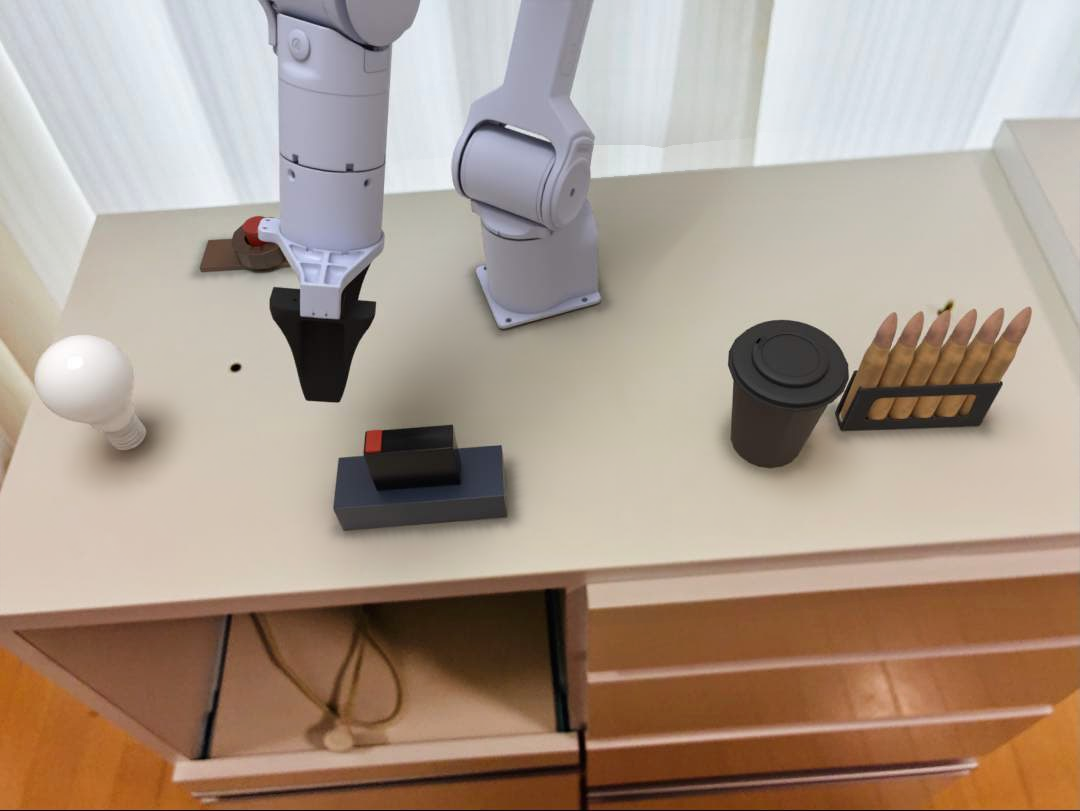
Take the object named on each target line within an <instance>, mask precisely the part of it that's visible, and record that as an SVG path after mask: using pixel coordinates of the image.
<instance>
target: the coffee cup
mask: <svg viewBox="0 0 1080 811" xmlns="http://www.w3.org/2000/svg"><path fill="white" fill-rule="evenodd" d="M845 356H846V355H845V354H844V352H843V350H842V348H841V347H840V345H839V344H838V343H837V342H836V341H835V339H834V338H832V337H831V336H830V335H829V334H827V333H826V332H825V331H823V330H822V329H819V328H818V327H816V326H813V325H811V324H808V323H806V322H803V321H802V322H801V321H797V320H791V319H772V320H771V319H770V320H766V321H762V322H760V323H756V324H755V325H752V326H751V327H749V328H747V329H746V330H744V331H743V332H742V333H740V334H739V335H738V336H737V337H736V338H735V339H734V341H733V342H732V345H731V346H730V348H729V349H728V358H727V366H728V369H729V370H728V371H729V373H730V376H731V378H732V380H733V381H732V401H731V403H732V404H731V419H730V420H731V422H730V441H731V445H732V448H733V449H734V451H735V453H737V456H739V457H740V458H741V459H743V460H744V461H745V462H747V463H749V464H751V465H754V466H756V467H758V468H765V469H777V468H782V467H784V466H787V465H788V464H791V463H792V462H793V461H794V460H795V459H796V458H798V456H799V455H800V453H801V452H802V450H803V448H804V446H805V444H806V443H807V441H808V440H809V438H810V436H811V434H812V433H813V431H814V429H815V428H816V426H817V424H818V423H819V421H820V419H821V417H822V416H823V414H824V413H825V411H826V409H827V407H828V406H829V404H832V403H834V402H835V400H837V399H838V398H839V397H841V395H843V394H844V391H845V389H846V387H847V385H848V383H849V381H850V372H849V362H848V360H847V359H846V357H845Z"/></svg>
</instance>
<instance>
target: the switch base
mask: <svg viewBox="0 0 1080 811" xmlns="http://www.w3.org/2000/svg"><path fill="white" fill-rule="evenodd" d="M458 451H459V455H460V460H461V484H455V485H442V486H429V487H417V488H404V489H391V490H379V491H377V490H376V487H375V485H374V482H373V479H372V477H371V474H370V471H369V469H368V466H367V463H366V461H365V458H364V456H363V455H355V456H343V457H338V458H337V459H338V460H337V470H336V479H335V486H334V487H335V488H334V496H333V497H334V498H333V506H332V507H333V508H332V509H333V512H334V514H335V516H336V518H337V521H338V523H339V524H340V526H341V530H343V531H351V530H352V531H353V530H361V529H363V530H364V529H374V528H388V527H400V526H401V527H402V526H413V525H427V524H439V523H451V522H452V523H453V522H465V521H478V520H489V519H500V518H501V519H502V518H503V519H504V518H508V505H507V503H508V502H507V484H506V483H507V482H506V466H505V459H504V452H503V446H502V444H495V445H484V446H470V447H469V446H468V447H458Z"/></svg>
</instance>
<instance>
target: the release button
mask: <svg viewBox="0 0 1080 811" xmlns="http://www.w3.org/2000/svg"><path fill="white" fill-rule="evenodd" d="M266 217H267V216H266ZM266 217H265V216H263V215H255V216H251V217H249V218H248V219H246V220H245V221H244V222H243V224H242V225H243V230H244V232H245V235H246V237H247V239H248V242H249V243H250V244H251V245H252V246H263V245H266V244H268V243H270V242H265V241H261V240H260V239H259V238H258V226H259V224H260V221H261V220H262V219H263V218H266Z"/></svg>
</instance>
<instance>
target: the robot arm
mask: <svg viewBox="0 0 1080 811" xmlns="http://www.w3.org/2000/svg"><path fill="white" fill-rule="evenodd" d="M257 1H258V3H259V4H260V6H261V7H262V9H263V12H264V13H265V16H266V19H267V32H268V34H267V35H268V45H269V46H272V51H273V53H274V54H275V56H276V57H277V100H278V101H277V106H278V110H277V112H278V113H277V114H278V164H279V166H278V175H279V176H278V179H279V180H278V181H279V186H278V187H279V191H278V192H279V217H274V218H263V219H262V220H261V221H260V224H259V226H258V238H259V239H260V240H261V241H265V242H273V243H276V244H278V245H279V247H280V248H281V250H282V252H283V254H284V255H285V257H286V259H287V261H288V262H289V264H290V266H291V267H290V268H291V269H292V271H293V273H294V274H295V277H296V278H297V280H298V282H299V288H292V287H283V286H273V287H272V290H271V293H270V296H269V300H268V301H269V303H268V304H269V305H268V306H269V308H268V309H269V312H270V315H271V318H272V320H273V321H274V323H275V324H276V326H278V329H280V331H281V333H282V334H283V336H284V338H285V340H286V342H287V344H288V346H289V348H290V351H291V354H292V357H293V361H294V364H295V369H296V373H297V377H298V381H299V385H300V388H301V392H302V395H303V396H304V400H305V401H307V402H320V403H335V404H339V403H340V402H341V400H342V399H343V396H344V393H345V390H346V387H347V383H348V379H349V375H350V370H351V366H352V362H353V359H354V356H355V353H356V350H357V348H358V346H359V343H360V342H361V340H362V339H363V337H364V335H365V334H366V333H367V331H368V330H369V329H370V328H371V325H372V324H373V321H374V319H375V317H376V310H377V301H376V300H375V301H374V300H365V299H364V300H362V299H359V298H360V293H361V289H362V287H363V284H364V281H365V278H366V275H367V274H368V271H369V269H370V267H371V264H372V262H373V261H374V260H375V259H376V258H378V257H379V256H381V254H382V252H383V251H384V249H385V242H386V240H385V239H386V235H385V232H384V230H383V216H384V215H383V212H384V199H385V198H384V196H385V195H384V194H385V181H386V164H387V163H386V162H387V161H386V159H387V158H386V156H387V143H388V142H387V141H388V140H387V139H388V123H389V106H390V89H391V74H392V59H393V57H392V56H393V43H395V42H397V40H398V39H400V38H401V37H402V36H403V35H404V33H405V32H406V31H407V30H409V29H410V28H411V27H412V26H413V24H414V21H415V19H416V17H417V14H418V11H419V8H420V5H421V1H422V0H257ZM594 2H595V0H520V3H519V4H520V5H519V8H518V9H519V10H518V13H517V18H516V23H515V26H514V32H513V37H512V41H511V46H510V50H509V56H508V60H507V65H506V70H505V75H504V79H503V83H502V84H501V85H499V86H498V87H496V88H495V89H493V90H491V91H489V92H488V93H486V94H484V95H483V96H481V97H479V98H477V99H475V100H474V101H472V103H471V104H470V107H469V112H468V116H467V119H466V122H465V126H464V128H463V130H462V132H461V134H460V136H459V138H458V140H457V142H456V144H455V146H454V149H453V152H452V157H451V164H450V172H451V180H452V185H453V187H454V190H455V191H456V193H457V194H458V195H459V196H460V197H461V198H464V199H468V200H470V201H469V202H470V207H471V212H472V213H474V214H476V215H477V216H478V217H479V220H480V221H479V222H480V228H481V238H482V245H483V252H484V259H485V264H483V265H480V266H478V267H477V268H475V275H476V276H477V279H478V282H479V284H480V286H481V289H482V291H483V294H484V296H485V298H486V300H487V304H488V305H489V309H490V311H491V312H492V315H493V318H494V320H495V323H496V325H497V327H498V328H499V329H503V330H505V329H509V328H512V327H516V326H520V325H523V324H526V323H530V322H534V321H538V320H542V319H545V318H548V317H552V316H553V317H554V316H557V315H560V314H564V313H567V312H571V311H575V310H579V309H582V308H586V307H589V306H593V305H597V304H599V303H600V302H601V300H602V297H601V294H600V292H599V251H600V250H599V249H600V248H599V246H600V243H599V242H600V241H599V232H598V227H597V222H596V221H597V220H596V217H595V213H594V211H593V208H592V206H591V203H590V201H589V199H588V194H589V192H590V191H589V190H590V185H591V179H592V178H591V177H592V176H591V175H592V172H591V165H592V157H593V153H594V152H593V151H594V147H595V139H596V137H595V134H594V133H593V130H592V129H591V128H590V126H589V125H588V123H587V122H586V120H585V118H584V117H583V116H582V115H581V113H580V112H579V110H578V109H577V108H576V106H575V104H574V103H573V101H572V99H571V94H572V91H573V86H574V81H575V78H576V74H577V70H578V66H579V62H580V58H581V53H582V50H583V46H584V40H585V37H586V33H587V29H588V26H589V21H590V17H591V14H592V9H593V5H594ZM506 126H510V127H514V128H517V129H520V130H522V131H526V132H528V133H532V134H534V135H538V136H541V137H543V138H545V139H546V140H545V139H542V138H540V137H539V138H538V137H537V136H533V135H530V134H527V133H524V132H521V131H518V130H516V129H515V130H514V129H511V128H509V127H506Z"/></svg>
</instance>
